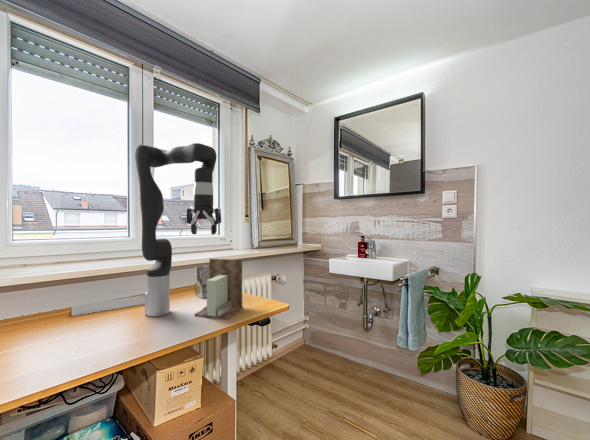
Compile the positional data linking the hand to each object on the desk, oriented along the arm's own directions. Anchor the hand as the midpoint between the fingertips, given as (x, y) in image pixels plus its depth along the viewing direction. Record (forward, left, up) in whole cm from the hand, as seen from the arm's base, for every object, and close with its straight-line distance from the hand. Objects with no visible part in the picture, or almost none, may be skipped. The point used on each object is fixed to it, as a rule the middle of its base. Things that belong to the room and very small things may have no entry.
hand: (203, 234), depth 115 cm
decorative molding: (-53, +11, -37) cm, 66 cm away
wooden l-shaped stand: (0, +13, -36) cm, 39 cm away
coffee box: (-21, +36, -36) cm, 55 cm away
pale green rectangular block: (0, +11, -35) cm, 37 cm away
